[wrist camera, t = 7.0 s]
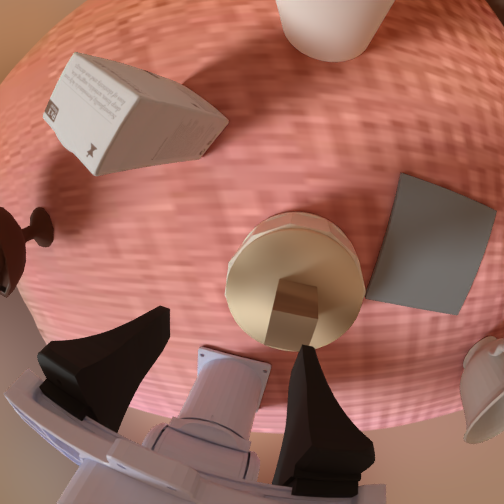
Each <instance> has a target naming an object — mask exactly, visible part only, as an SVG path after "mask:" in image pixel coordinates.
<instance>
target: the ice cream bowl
mask: <svg viewBox="0 0 504 504" xmlns="http://www.w3.org/2000/svg"><path fill="white" fill-rule="evenodd" d="M32 239H34V240H35V241H36V242H37V243H38V245H39V246H42V247H49V246H50V245H51V243H52V242H53V226H52V223H51V220H50V217H49V215H48V214H47V213H46V211H45V210H44V209H43V208H36V209H35V210H34V211H33V213H32V215H31V216H30V226H28V227H26V228H24V229H21V227H20V226H19V225H18V223H17V222H16V220H15V219H14V218H13V216H12V215H11V214H10V213H9V212H8V211H7V210H5V209H4V208H3V207H0V294H1V295H3V296H4V297H6V298H7V297H8V296H9V295H10V294H11V293H12V292H13V290H14V289H15V287H16V285H17V284H18V282H19V280H20V278H21V276H22V274H23V272H24V267H25V263H26V247H25V243H26V242H27V241H29V240H32Z"/></svg>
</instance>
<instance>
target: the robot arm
mask: <svg viewBox="0 0 504 504" xmlns="http://www.w3.org/2000/svg"><path fill="white" fill-rule="evenodd" d="M169 338H170V309H169V308H166V307H163V306H158V307H156V308H155V309H153V310H151V311H149V312H147V313H145V314H144V315H142V316H140V317H138V318H136V319H134V320H132V321H130V322H128V323H126V324H124V325H122V326H119V327H117V328H115V329H112V330H110V331H107V332H104V333H101V334H97V335H93V336H89V337H85V338H80V339H73V340H63V341H51V342H50V343H49V344H48V345H47V346H45V347H44V348H43V349H42V350H41V351H40V352H39V353H38V355H37V358H38V362H39V364H40V366H41V368H42V371H43V373H44V374H45V376H46V378H47V379H46V380H45V381H44V382H43V381H42V379H41V378H40V377H38V376H37V375H36V374H35V373H34V372H32V371H31V370H30V369H26V370H25V371H24V372H23V373H22V374H21V375H20V376H19V377H18V379H17V380H16V381H15V382H14V383H13V384H12V385H11V386H10V387H9V388H8V389H7V390H6V391H5V392H4V395H5V397H6V398H7V400H8V401H9V403H10V404H11V405H12V407H13V408H14V409H15V411H16V412H17V413H18V414H19V416H20V417H21V418H22V419H23V420H24V421H25V422H26V423H27V424H28V425H29V426H30V427H31V428H33V429H34V430H35V431H36V432H37V433H38V434H39V435H40V436H42V437H43V438H44V439H45V440H46V441H48V442H49V443H50V444H51V445H52V446H53V447H55V448H56V449H57V450H58V451H60V452H61V453H62V454H64V455H65V456H66V457H68V458H69V459H70V460H72V461H73V462H74V463H76V464H77V465H78V466H79V468H78V470H77V471H76V473H75V474H74V476H73V477H72V479H71V481H70V482H69V484H68V485H67V487H66V489H65V490H64V492H63V493H62V495H61V496H60V498H59V500H58V502H57V503H56V504H386V485H385V484H372V485H362V486H359V487H358V481H360V480H361V473H362V472H363V471H365V470H366V469H367V468H369V467H370V466H371V465H372V464H373V463H374V461H375V452H374V447H373V442H372V441H371V440H370V439H369V438H368V437H366V436H365V435H364V434H363V433H362V432H361V431H360V430H359V429H358V428H357V427H356V426H355V425H354V424H353V422H352V421H351V420H350V419H349V417H348V416H347V415H346V414H345V412H344V411H343V410H342V408H341V407H340V405H339V404H338V402H337V400H336V399H335V397H334V395H333V393H332V391H331V389H330V387H329V385H328V383H327V381H326V379H325V376H324V374H323V372H322V369H321V366H320V364H319V361H318V358H317V355H316V351H315V348H314V347H312V346H308V345H303V344H302V346H301V348H300V351H299V354H298V356H297V359H296V361H295V364H294V366H293V369H292V372H291V377H290V383H289V390H288V405H287V419H286V428H285V433H284V438H283V442H282V447H281V451H280V456H279V460H278V464H277V468H276V471H275V475H274V478H273V481H272V484H265V483H260V482H257V478H258V474H259V468H260V460H259V458H258V457H257V454H256V453H255V452H251V451H249V449H250V445H251V441H249V437H250V433H251V429H252V425H253V421H254V417H255V413H256V412H258V409H259V406H260V403H261V400H262V396H263V393H264V390H265V387H266V383H267V380H268V377H269V374H270V370H271V365H270V364H268V363H264V362H260V361H256V360H251V359H247V358H243V357H239V356H235V355H231V354H227V353H224V352H220V351H216V350H213V349H209V348H206V347H200V348H199V350H198V375H197V379H196V381H195V383H194V385H193V387H192V389H191V391H190V393H189V395H188V397H187V399H186V401H185V403H184V405H183V407H182V409H181V411H180V413H179V415H178V417H177V418H176V417H172V419H171V421H170V423H169V425H168V424H165V423H160V424H159V425H156V426H154V427H153V428H152V429H151V430H150V431H149V433H148V434H147V435H146V437H145V439H144V441H143V443H142V445H140V444H138V443H136V442H133V441H131V440H129V439H127V438H125V437H123V436H121V435H119V434H117V432H118V430H119V427H120V425H121V422H122V420H123V417H124V415H125V413H126V411H127V408H128V406H129V404H130V402H131V400H132V398H133V396H134V394H135V392H136V390H137V388H138V386H139V385H140V383H141V381H142V380H143V378H144V377H145V375H146V374H147V372H148V371H149V370H150V368H151V367H152V365H153V364H154V363H155V361H156V360H157V358H158V357H159V356H160V354H161V353H162V351H163V349H164V348H165V346H166V344H167V342H168V340H169ZM203 354H204V355H203ZM265 370H267V371H265Z"/></svg>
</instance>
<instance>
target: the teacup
mask: <svg viewBox="0 0 504 504" xmlns="http://www.w3.org/2000/svg"><path fill="white" fill-rule="evenodd" d="M463 368H464V371H463V373H462V376H461V380H460V394H461V400H462V404H463V409H464V413H465V418H466V425H467V430H466V433H465V434H464V441H465V442H466V443H469V444H477V443H481V442H484V441H487V440H489V439H491V438H493V437H495V436H496V435H498V434H500V433H501V432H503V431H504V338H500V339H497V338H496V337H494V336H488V337H486V338H483V339H482V340H480V341H479V342H477V343H476V344H475V345H474V346H473V347H472V348H471V349H470V350H469V352H468V353H467V355H466V357H465V359H464V362H463Z"/></svg>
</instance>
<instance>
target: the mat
mask: <svg viewBox="0 0 504 504" xmlns="http://www.w3.org/2000/svg"><path fill="white" fill-rule="evenodd" d="M496 212H497V211H496V210H494V209H492V208H490V207H487V206H485V205H483V204H481V203H479V202H477V201H474V200H472V199H470V198H467V197H465V196H463V195H460V194H458V193H456V192H453V191H451V190H448V189H446V188H443V187H440V186H438V185H435V184H432V183H430V182H427V181H424V180H421V179H418V178H416V177H413V176H410V175H407V174H404V173H401V174H400V178H399V183H398V187H397V192H396V196H395V200H394V204H393V208H392V212H391V216H390V219H389V223H388V227H387V230H386V233H385V237H384V240H383V244H382V247H381V250H380V253H379V256H378V259H377V262H376V265H375V268H374V271H373V274H372V277H371V280H370V283H369V286H368V288H367V291H366V294H365V298H366V299H370V300H375V301H380V302H385V303H391V304H396V305H402V306H407V307H412V308H418V309H424V310H429V311H435V312H441V313H446V314H452V315H458V313H459V311H460V309H461V307H462V305H463V303H464V301H465V299H466V297H467V294H468V292H469V290H470V288H471V285H472V283H473V281H474V278H475V276H476V273H477V271H478V268H479V266H480V263H481V260H482V258H483V255H484V252H485V249H486V246H487V243H488V240H489V237H490V234H491V230H492V227H493V224H494V220H495V216H496Z"/></svg>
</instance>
